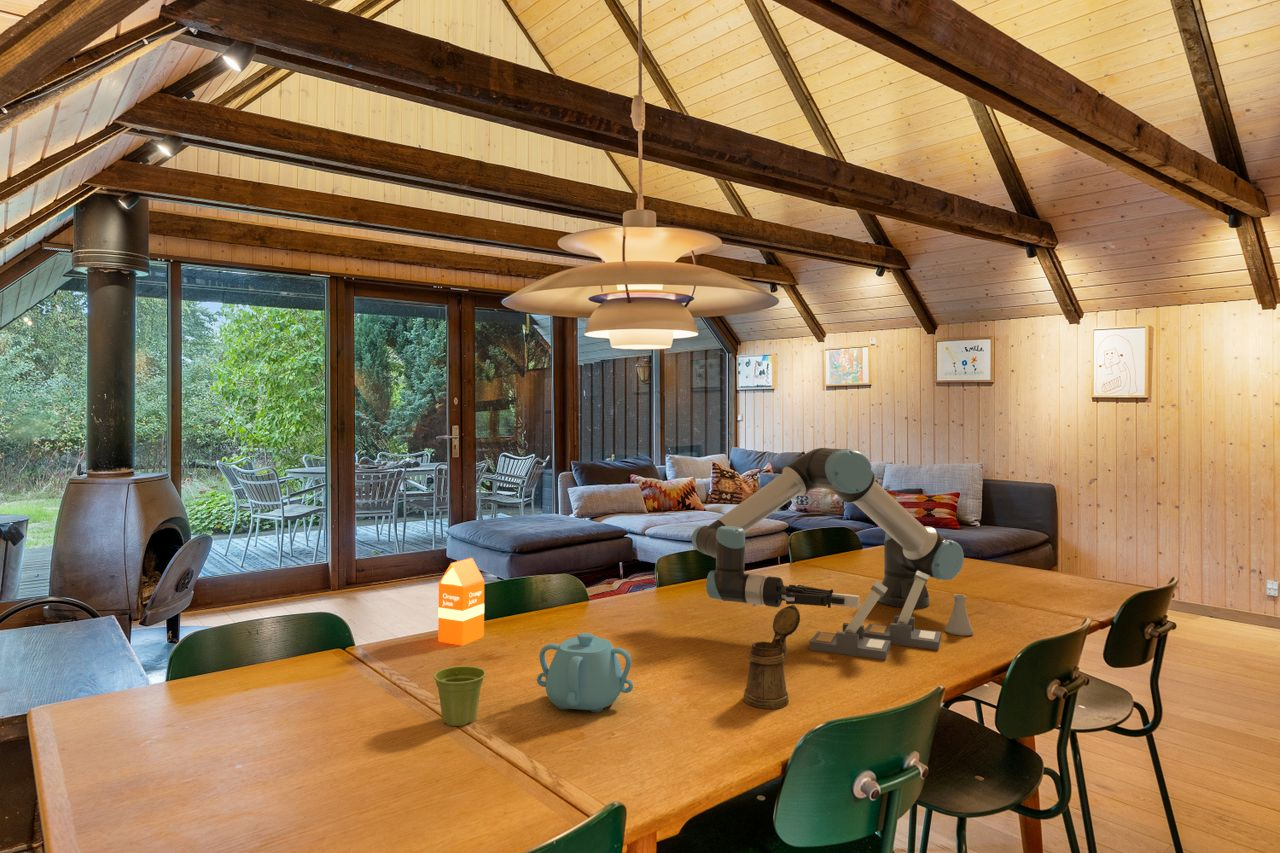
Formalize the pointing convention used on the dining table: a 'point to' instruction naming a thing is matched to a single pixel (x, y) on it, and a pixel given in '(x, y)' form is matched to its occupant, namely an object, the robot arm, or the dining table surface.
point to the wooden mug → (771, 664)
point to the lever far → (913, 597)
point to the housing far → (904, 634)
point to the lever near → (866, 607)
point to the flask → (959, 618)
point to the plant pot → (459, 693)
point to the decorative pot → (584, 673)
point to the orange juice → (461, 604)
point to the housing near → (850, 644)
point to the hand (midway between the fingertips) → (858, 601)
